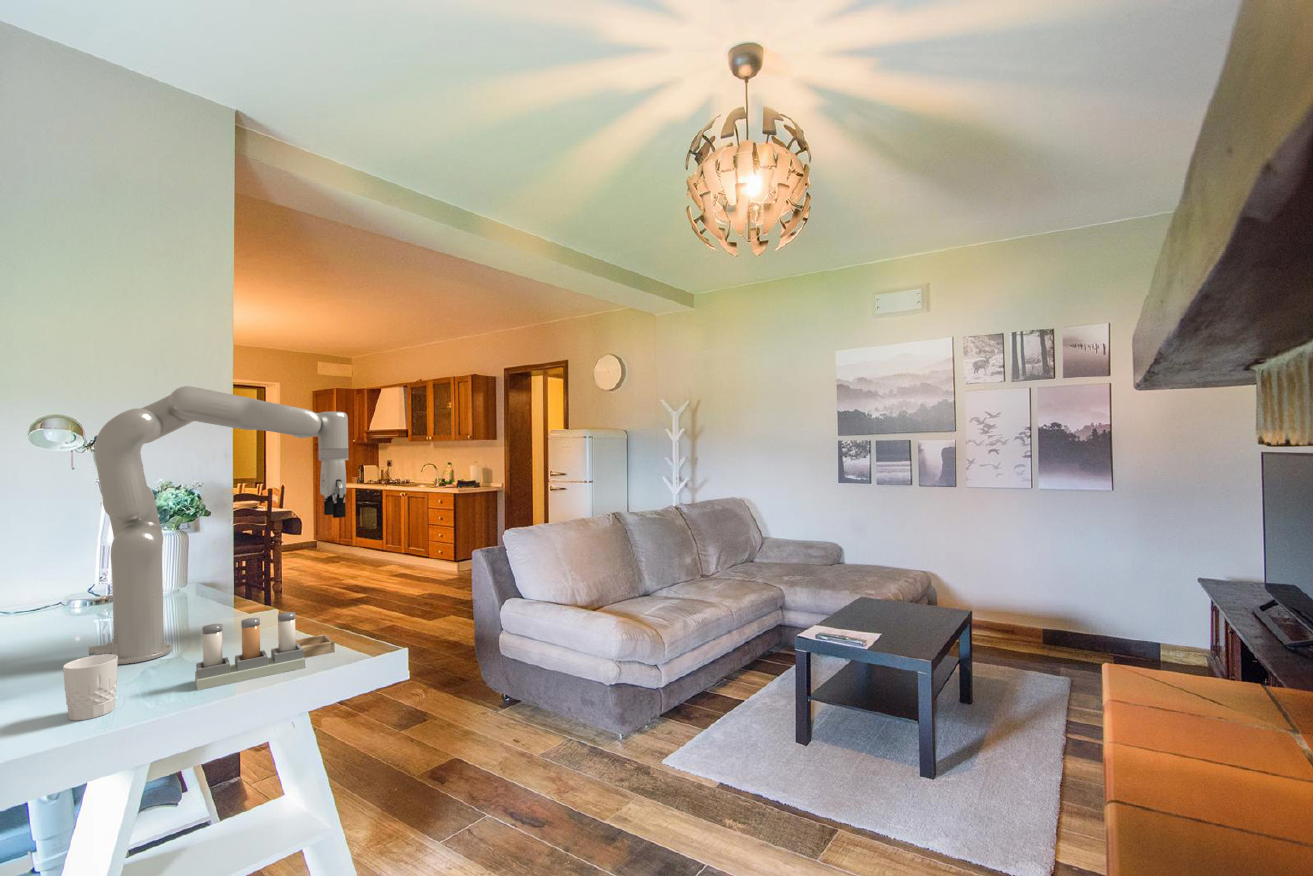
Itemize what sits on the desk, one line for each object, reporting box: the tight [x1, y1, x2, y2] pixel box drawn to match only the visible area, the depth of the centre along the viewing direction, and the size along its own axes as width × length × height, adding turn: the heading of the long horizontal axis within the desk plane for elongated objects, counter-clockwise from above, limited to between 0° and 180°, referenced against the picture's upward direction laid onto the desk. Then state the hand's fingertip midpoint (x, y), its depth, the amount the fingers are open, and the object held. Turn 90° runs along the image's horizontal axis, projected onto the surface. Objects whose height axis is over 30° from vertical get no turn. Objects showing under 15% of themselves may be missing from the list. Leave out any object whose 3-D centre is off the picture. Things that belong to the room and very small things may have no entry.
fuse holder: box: [194, 644, 306, 691], centre depth 143 cm, size 20×7×4 cm, turn 128°
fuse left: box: [201, 623, 224, 668], centre depth 139 cm, size 4×4×10 cm
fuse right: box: [277, 611, 297, 653], centre depth 148 cm, size 4×4×10 cm
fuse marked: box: [240, 617, 261, 660], centre depth 143 cm, size 4×4×10 cm
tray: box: [296, 633, 335, 659], centre depth 158 cm, size 8×8×2 cm
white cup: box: [62, 654, 119, 721], centre depth 124 cm, size 8×8×10 cm
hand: (334, 516), depth 183 cm, fingers open, 9 cm apart
